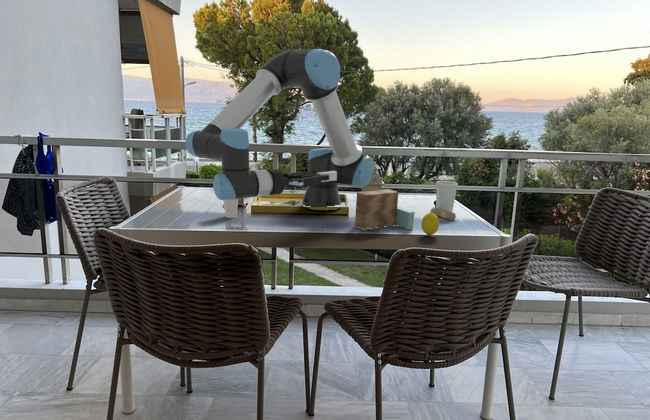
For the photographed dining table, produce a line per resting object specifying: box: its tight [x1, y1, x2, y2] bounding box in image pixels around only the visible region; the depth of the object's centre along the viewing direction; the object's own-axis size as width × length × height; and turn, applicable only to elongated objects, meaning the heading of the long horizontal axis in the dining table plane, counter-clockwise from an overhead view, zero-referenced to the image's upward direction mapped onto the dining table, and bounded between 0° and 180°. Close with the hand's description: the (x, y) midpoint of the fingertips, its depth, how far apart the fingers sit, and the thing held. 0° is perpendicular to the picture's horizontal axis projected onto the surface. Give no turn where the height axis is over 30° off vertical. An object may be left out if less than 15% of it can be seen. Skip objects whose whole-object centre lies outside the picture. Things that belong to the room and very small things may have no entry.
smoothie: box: [222, 199, 239, 219], centre depth 172 cm, size 6×6×14 cm
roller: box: [430, 206, 457, 221], centre depth 187 cm, size 10×3×3 cm
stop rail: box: [396, 205, 415, 230], centre depth 174 cm, size 2×16×6 cm, turn 32°
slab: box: [354, 189, 399, 229], centre depth 169 cm, size 14×5×12 cm, turn 124°
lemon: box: [420, 211, 440, 237], centre depth 160 cm, size 6×6×8 cm
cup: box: [435, 180, 458, 213], centre depth 192 cm, size 8×8×12 cm
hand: (335, 175), depth 156 cm, fingers closed
